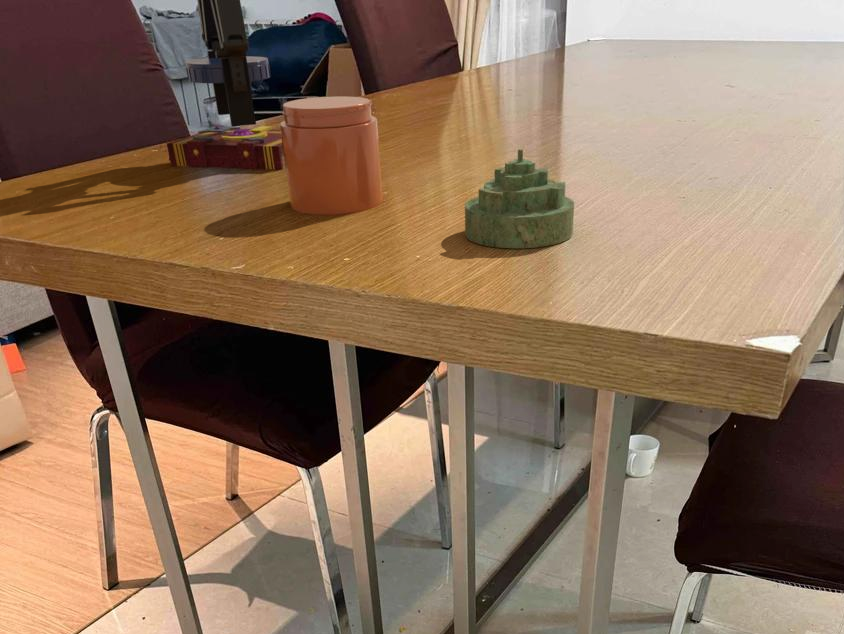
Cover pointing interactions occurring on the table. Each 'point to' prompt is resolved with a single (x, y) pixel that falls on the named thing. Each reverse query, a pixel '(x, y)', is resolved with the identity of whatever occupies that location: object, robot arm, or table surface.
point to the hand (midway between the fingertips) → (236, 119)
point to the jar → (331, 155)
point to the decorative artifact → (520, 209)
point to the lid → (212, 71)
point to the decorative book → (230, 149)
